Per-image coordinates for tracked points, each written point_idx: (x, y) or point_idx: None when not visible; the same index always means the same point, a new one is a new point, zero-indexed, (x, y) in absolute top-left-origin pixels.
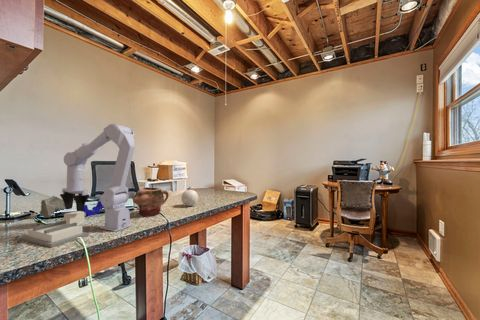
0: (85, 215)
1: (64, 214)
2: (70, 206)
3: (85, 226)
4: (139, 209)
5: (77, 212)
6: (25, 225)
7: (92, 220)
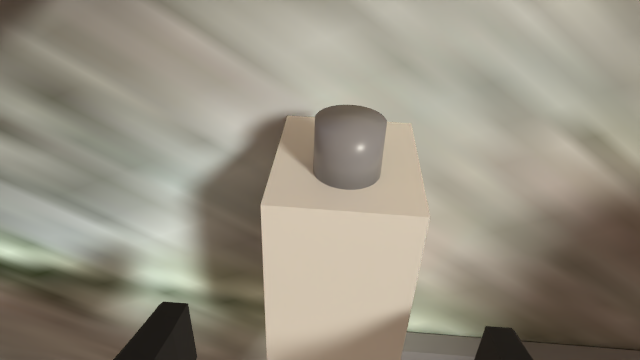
0: (381, 123)
1: (277, 356)
2: (178, 356)
3: (568, 219)
4: None
5: (358, 275)
6: (12, 340)
7: (435, 4)
